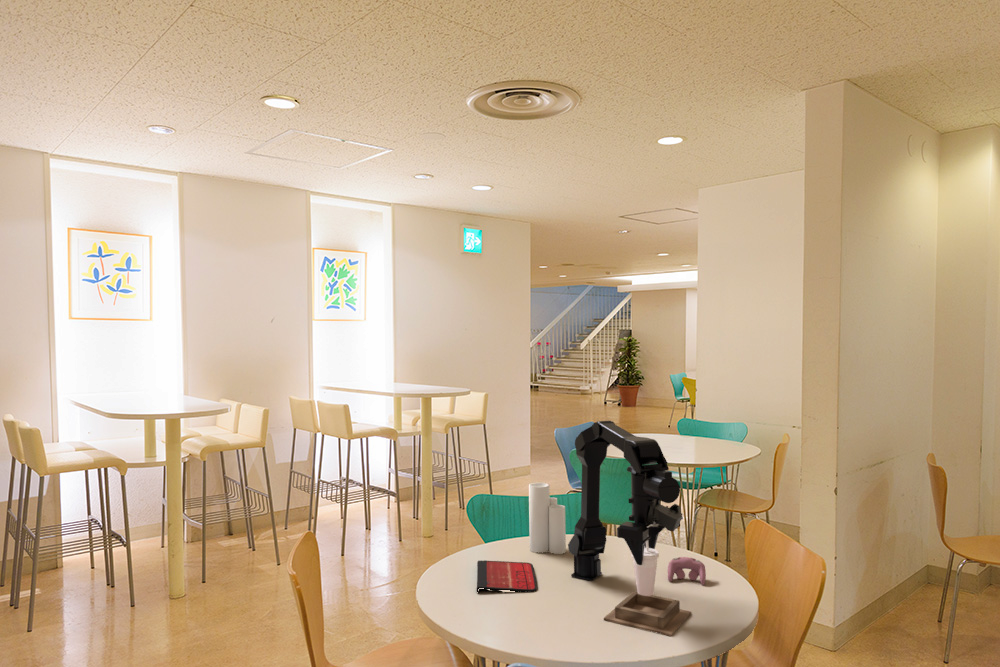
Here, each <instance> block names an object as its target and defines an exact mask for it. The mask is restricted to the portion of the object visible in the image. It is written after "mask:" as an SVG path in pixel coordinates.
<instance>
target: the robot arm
mask: <svg viewBox="0 0 1000 667" xmlns="http://www.w3.org/2000/svg"><path fill="white" fill-rule="evenodd" d="M610 445H611V446H614V447H615V448H616V449H619V450H620V451H621V452H622V453H623V458H624V459H625V460H626V461H627V462H628V463H629V464H630V465H629V466H628V467H627V468H626V472H628V473H630V476H631V478H630V479H631V480H630V481H631V482H630V484H631V496H630V497H629V498H628V503H629V504H631V514H630V515H629V516H628V521H625V522H623V523H621V524H620V525H619V526H618V527H617V528H616V537H617V538H619V539H623V540H624V541H625V543H626V545H627V548H629V550H630V554H631V553H632V555H633V557H634V559H635V561H636V563H637V564H638V565H642V562H643V555H644V547H646V542H647V541H648V546H649V548H652V549H655V550H656V546H657V542H658V537H659V534H660V533H661V532H662V531H663V530H664V529H665V530H667V531H669V532H675V530H676V529H679V526H680V523H681V521H682V520H683V519H684V516H683V513H682V509H681V505H678V504H677V503H674V502H675V501H676V500H677V499H678V498H679V496H680V493H681V486H680V483H679V482H678V481H677V479H676V478H675V477H673V473H672V472H673V471H670V469H669V466H668V460H667V459H666V457H665V456H664V453H663V451H662V448H661V446H660V445H659V443H658V441H657V440H656V439H654V438H650V437H644V436H643V437H642V436H637V435H634V434H632V433H631V432H630V431H627V430H626V429H624V428H623V427H620V426H619V425H617V424H616V423H615V422H614V421H613V420H599V421H598V420H596V421H595V422H593V424H592V425H590V426H589V427H588V428H586V429H584V430H582V431H581V432H580V433H579V434H578V436H576V438H575V440H574V447H575V454H576V457H577V459H578V460H579V462H580V463H581V492H580V493H581V495H580V496H581V498H580V499H581V500H580V501H581V502H580V506H581V507H580V517H579V518H578V520H577V522H576V524H575V525H574V531H573V532H574V533H573V536H572V537H571V539H570V540H569V542H568V544H567V549H568V552H569V554H571V555H572V556H573V573H571V574H570V575H571V577H572V578H578V579H581V580H587V581H590V582H591V581H594V580H595V579H597V578H598V577H600V576H601V575H603V572H602V565H601V564H602V563H601V562H602V561H601V559H600V554H603V555H604V554H605V553H604V552H605V549H606V543H607V528H606V526H605V525H604V524H603V523H602V521H601V520H600V500H601V496H600V493H601V489H600V487H601V466H602V464H603V463H604V461H605V459H606V457H607V452H608V448H609V447H610ZM661 502H663V503H665V504H671V503H674V504H672V505H671V506H669V505H666V506H665V505H663V504H662V503H661ZM633 557H632V558H633Z"/></svg>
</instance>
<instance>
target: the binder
mask: <svg viewBox="0 0 1000 667" xmlns="http://www.w3.org/2000/svg"><path fill="white" fill-rule="evenodd" d="M476 564H477V568H476V569H477V570H476V573H477V575H476V577H477V578H476V579H477V580H476V593H477V592H478V589H479V588H484V589H490V590H510V591H515V592H521V593H535V592H537V591H538V585H537V579H536V578H537V577H536V574H535V569H534V565H533V564H532V563H531V562H520V561H519V562H518V561H501V560H500V561H499V560H485V559H484V560H477V563H476ZM536 590H537V591H536ZM534 591H535V592H534Z"/></svg>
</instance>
